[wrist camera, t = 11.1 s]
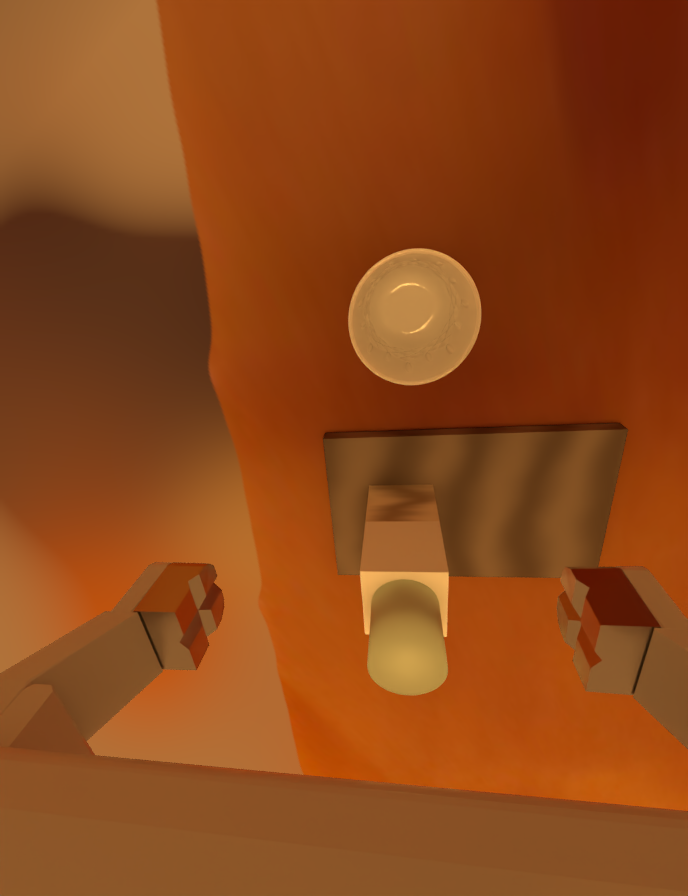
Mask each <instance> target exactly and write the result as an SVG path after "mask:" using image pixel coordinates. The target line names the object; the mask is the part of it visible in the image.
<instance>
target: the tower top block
mask: <svg viewBox="0 0 688 896" xmlns="http://www.w3.org/2000/svg"><path fill="white" fill-rule="evenodd" d="M448 577H449V572H448V566H447V561H446V555H445V549H444V544H443V538H442V532H441V527H440V521H380V522H365V530H364V539H363V548H362V557H361V566H360V578H361V590H362V602H363V614H364V626H365V634H369V632H370V617H371V601H372V597H373V595H374V593H375V592H376V590H377V589H378V588H379V587H381V586H382V585H384V584H385V583H388V582H390V581H394V580H400V579H407V580H414V581H417V582H420V583H423V584H424V585H426V586H428V587H429V588H430V589H431V590H433V592H434V593H435V594H436V596H437V598H438V600H439V605H440V613H441V620H442V628H443V635H444V637H447V611H448Z"/></svg>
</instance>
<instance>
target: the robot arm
mask: <svg viewBox="0 0 688 896" xmlns="http://www.w3.org/2000/svg"><path fill="white" fill-rule="evenodd" d="M216 577H217V574H216V571H215V568H214V566H213V565H211V564H206V563H175V562H173V563H164V562H155V563H152V564H150V565H149V566H148V567H147V568H146V569H145V571H144V572H143V573H142V574H141V576H140V577H139V578H138V579H137V580H136V582H135V583H134V584H133V585H132V587H131V588H130V589H129V590H128V592H127V593H126V594H125V595H124V596H123V598H122V599H121V600H120V601H119V602H118V604H117V605H116V606H115V607H114V609H113V610H112V611H111V612H107V611H106V612H103V613H102V614H100V615H98V616H97V617H95V618H93V619H92V620H90V621H88V622H86V623H85V624H83V625H81V626H80V627H78V628H76V629H75V630H73V631H71V632H70V633H68V634H66V635H64V636H63V637H61V638H59V639H58V640H56V641H54V642H53V643H51V644H49V645H48V646H46V647H44V648H43V649H41V650H39V651H37V652H36V653H34V654H32V655H31V656H29V657H27V658H26V659H24V660H22V661H20V662H19V663H17V664H15V665H14V666H12V667H10V668H9V669H7V670H5V671H4V672H2V673H0V896H688V811H682V810H671V809H660V808H650V807H639V806H628V805H618V804H607V803H597V802H586V801H575V800H565V799H554V798H543V797H533V796H522V795H512V794H501V793H490V792H480V791H469V790H458V789H448V788H437V787H427V786H416V785H405V784H395V783H384V782H373V781H363V780H352V779H341V778H330V777H320V776H309V775H298V774H287V773H276V772H266V771H254V770H244V769H234V768H223V767H212V766H202V765H192V764H180V763H170V762H160V761H149V760H139V759H128V758H118V757H107V756H96V755H95V754H94V753H93V751H92V749H91V748H90V746H89V745H88V743H87V740H88V739H89V738H90V737H91V736H93V734H95V733H96V732H97V731H98V730H99V729H100V728H101V727H102V726H104V725H105V724H106V723H107V722H108V721H109V720H110V719H111V718H112V717H113V716H114V715H115V714H117V713H118V712H119V711H120V710H121V709H122V708H123V707H124V706H125V705H127V704H128V702H130V701H131V700H132V699H133V698H134V697H135V696H136V695H137V694H138V693H140V692H141V691H142V690H143V689H144V688H145V687H146V686H147V685H148V684H149V683H150V682H152V681H153V680H154V679H155V678H156V677H157V676H158V675H159V674H160V673H161V672H162V671H163V670H162V669H171V670H172V669H173V670H197V668H198V666H199V664H200V662H201V660H202V658H203V656H204V654H205V652H206V650H207V648H208V646H209V642H208V639H207V636H209V635H210V634H211V633H213V632H214V631H215V630H216V629H217V628H218V626H219V624H220V622H221V619H222V615H223V610H224V597H223V593H222V590H221V589H220V588H219V587H218V586H217V585H216V584H215V583H214V581H215V579H216ZM561 583H562V585H563V587H564V589H565V591H564V592H563V593H562V594H560V595H559V596H558V602H557V616H558V623H559V627H560V630H561V633H562V636H563V638H564V641H565V642H566V643H567V644H568V645H570V646H571V647H572V648H573V649H574V650H575V651H574V657H573V662H574V665H575V667H576V669H577V672H578V674H579V676H580V679H581V681H582V683H583V686H584V688H585V690H586V691H590V692H602V693H614V694H627V695H634V696H633V698H634V699H635V700H637V701H638V702H639V703H640V704H641V705H642V706H643V707H644V708H645V709H646V710H647V711H648V712H649V713H650V714H651V715H652V716H653V717H654V718H656V719H657V720H658V721H659V722H660V723H661V724H662V725H663V726H664V727H665V728H666V729H667V730H668V731H669V732H670V733H671V734H672V735H673V736H675V737H676V738H677V739H678V740H679V741H680V742H681V743H682V744H683V745H684V746H685V747H686V748H687V749H688V619H687V618H686V617H685V616H684V614H683V613H682V612H681V611H680V609H679V608H678V607H677V605H676V604H675V603H674V602H673V600H672V599H671V598H670V597H669V595H668V594H667V593H666V592H665V590H664V589H663V588H662V586H661V585H660V584H659V583H658V581H657V580H656V579H655V578H654V576H653V575H652V574H651V573H650V571H649V570H648V569H646V568H645V567H643V566H616V567H565V568H564V570H563V571H562V576H561Z"/></svg>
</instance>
